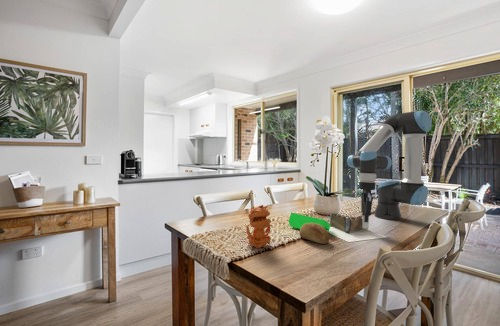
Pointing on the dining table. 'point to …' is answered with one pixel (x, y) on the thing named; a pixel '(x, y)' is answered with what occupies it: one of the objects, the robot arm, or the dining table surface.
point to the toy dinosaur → (259, 227)
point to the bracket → (306, 221)
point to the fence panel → (356, 224)
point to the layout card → (354, 235)
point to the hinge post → (347, 225)
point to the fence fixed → (338, 221)
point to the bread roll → (314, 233)
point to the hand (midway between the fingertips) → (365, 228)
